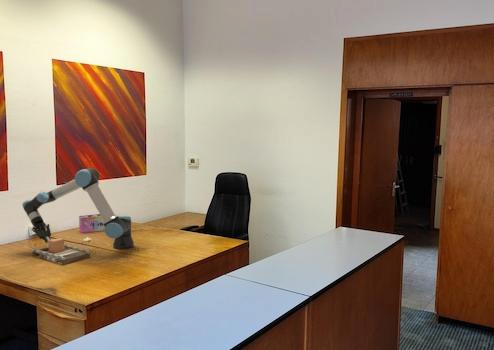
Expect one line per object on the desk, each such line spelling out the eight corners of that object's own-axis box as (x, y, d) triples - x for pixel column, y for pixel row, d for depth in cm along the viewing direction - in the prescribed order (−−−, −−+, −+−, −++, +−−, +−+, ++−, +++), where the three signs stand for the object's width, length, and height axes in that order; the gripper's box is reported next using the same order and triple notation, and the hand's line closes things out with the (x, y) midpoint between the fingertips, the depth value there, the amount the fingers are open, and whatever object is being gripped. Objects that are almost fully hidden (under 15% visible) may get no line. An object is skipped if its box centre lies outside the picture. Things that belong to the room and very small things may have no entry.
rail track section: (89, 257, 295) (89, 250, 294) (63, 264, 278) (63, 257, 278) (58, 249, 314) (58, 243, 313) (32, 255, 297) (32, 249, 297)
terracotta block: (64, 250, 300) (64, 239, 299) (54, 253, 293) (53, 241, 292) (59, 249, 303) (59, 237, 302) (48, 251, 297) (48, 240, 296)
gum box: (107, 228, 383) (107, 213, 381) (110, 230, 376) (109, 214, 375) (79, 231, 369) (78, 215, 368) (81, 233, 363) (81, 217, 362)
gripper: (42, 220, 316) (56, 246, 309) (25, 223, 305) (39, 250, 298) (46, 214, 313) (61, 240, 306) (29, 217, 302) (43, 244, 295)
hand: (50, 245), depth 302 cm, fingers closed
